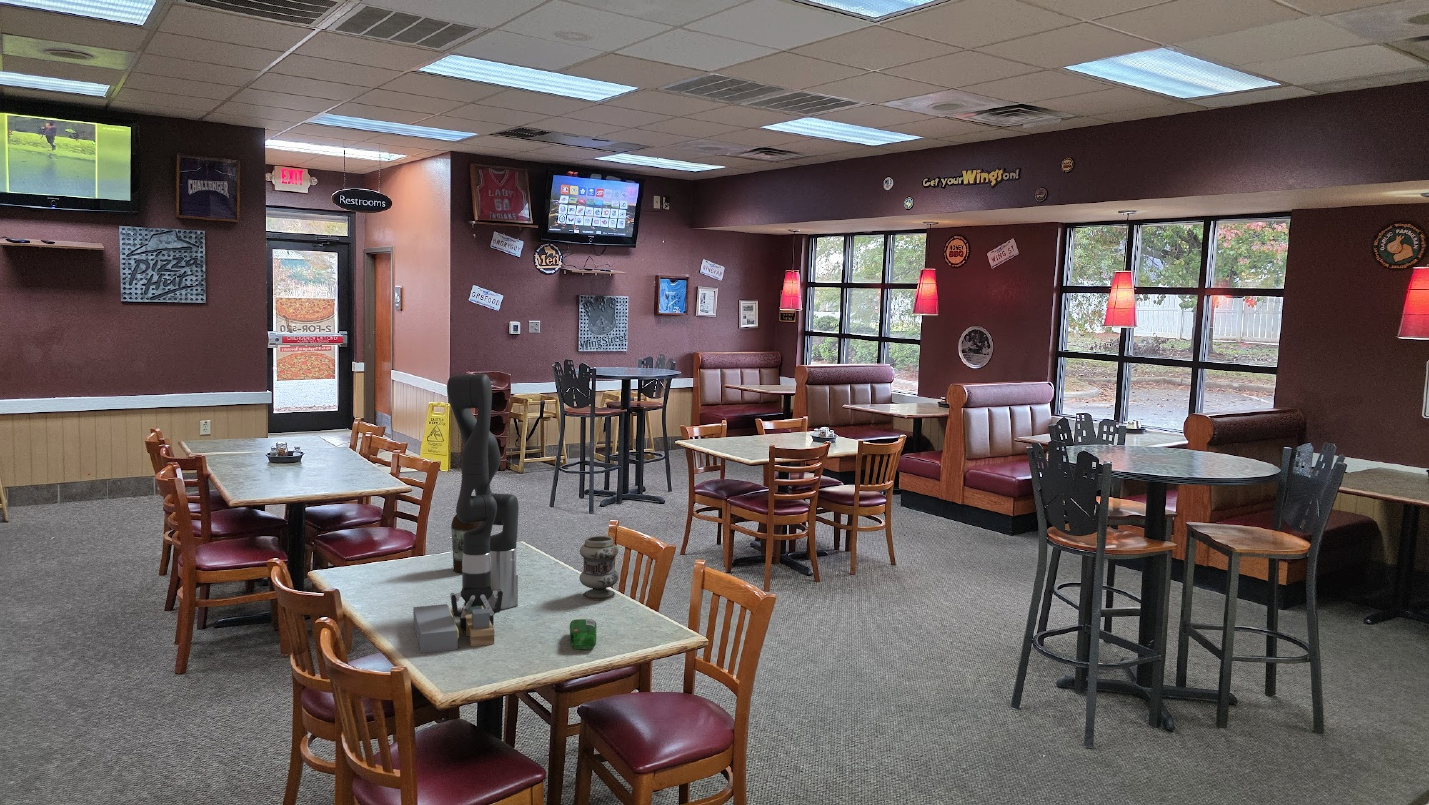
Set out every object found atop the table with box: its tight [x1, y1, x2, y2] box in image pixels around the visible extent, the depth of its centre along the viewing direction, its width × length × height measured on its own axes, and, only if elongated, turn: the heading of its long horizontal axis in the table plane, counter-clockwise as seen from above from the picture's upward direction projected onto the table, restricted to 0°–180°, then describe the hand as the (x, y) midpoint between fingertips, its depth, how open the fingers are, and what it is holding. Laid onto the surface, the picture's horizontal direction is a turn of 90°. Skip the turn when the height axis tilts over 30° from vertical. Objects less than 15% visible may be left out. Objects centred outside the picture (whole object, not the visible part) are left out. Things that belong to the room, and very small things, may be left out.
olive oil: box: [450, 513, 481, 574], centre depth 318 cm, size 11×11×25 cm
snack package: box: [569, 618, 597, 650], centre depth 253 cm, size 7×16×5 cm, turn 8°
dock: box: [412, 603, 460, 654], centre depth 254 cm, size 9×23×5 cm, turn 22°
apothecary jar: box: [578, 535, 620, 601], centre depth 293 cm, size 12×12×18 cm
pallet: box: [459, 605, 495, 647], centre depth 258 cm, size 21×6×4 cm, turn 22°
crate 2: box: [472, 607, 490, 629], centre depth 252 cm, size 4×4×4 cm
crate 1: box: [467, 606, 482, 613], centre depth 265 cm, size 4×4×4 cm
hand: (476, 629), depth 259 cm, fingers closed on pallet, 6 cm apart
